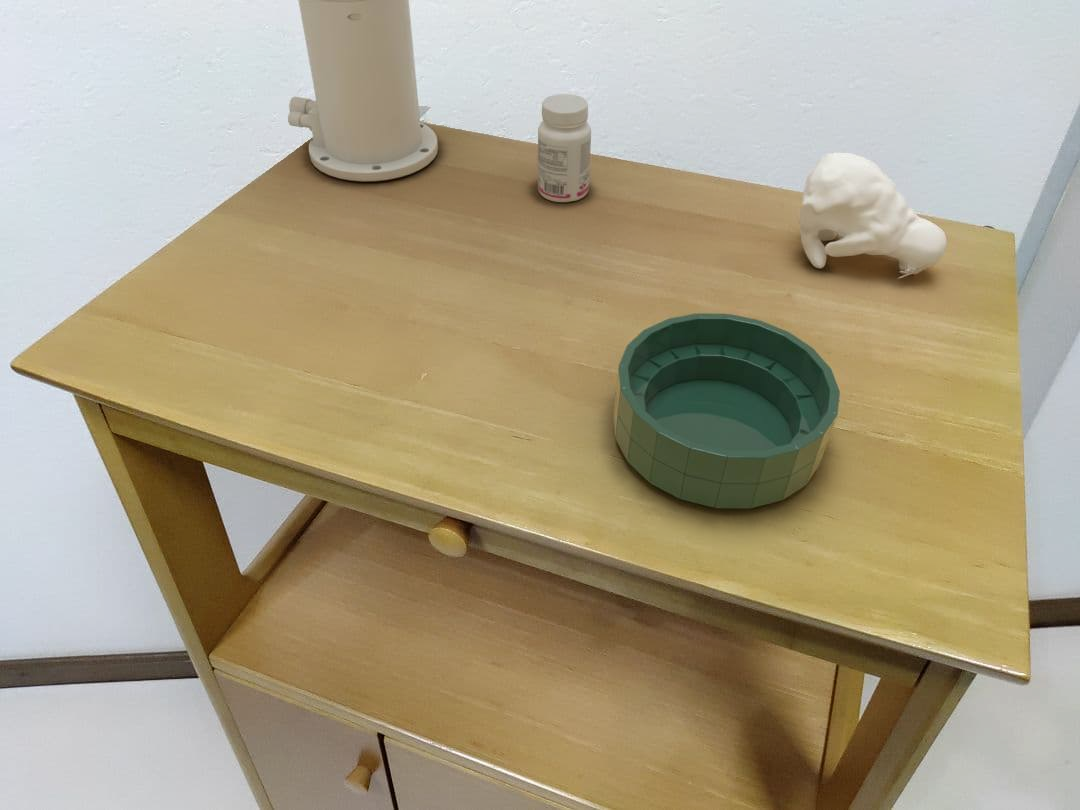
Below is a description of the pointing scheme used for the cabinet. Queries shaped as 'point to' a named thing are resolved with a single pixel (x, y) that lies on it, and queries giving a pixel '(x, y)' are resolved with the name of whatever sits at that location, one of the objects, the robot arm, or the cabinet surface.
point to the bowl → (724, 409)
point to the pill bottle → (564, 148)
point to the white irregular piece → (863, 216)
